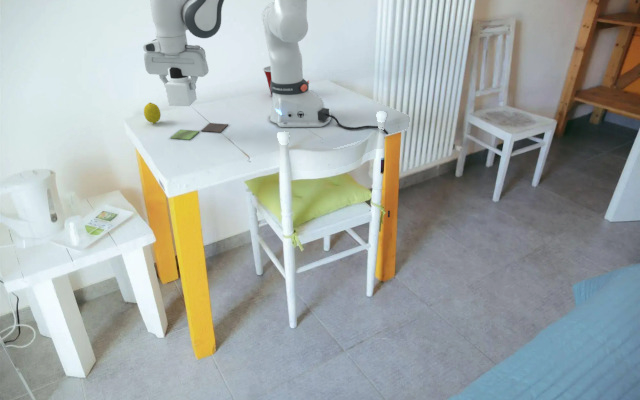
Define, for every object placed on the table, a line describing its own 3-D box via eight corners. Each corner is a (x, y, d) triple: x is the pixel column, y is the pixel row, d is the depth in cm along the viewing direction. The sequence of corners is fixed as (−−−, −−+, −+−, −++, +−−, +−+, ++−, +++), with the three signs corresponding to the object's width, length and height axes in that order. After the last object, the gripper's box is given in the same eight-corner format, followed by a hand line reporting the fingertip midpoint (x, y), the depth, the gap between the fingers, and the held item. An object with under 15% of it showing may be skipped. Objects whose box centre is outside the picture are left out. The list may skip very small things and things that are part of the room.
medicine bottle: (197, 99, 154) (191, 63, 148) (189, 106, 148) (183, 68, 142) (176, 98, 155) (170, 62, 149) (168, 105, 149) (161, 68, 143)
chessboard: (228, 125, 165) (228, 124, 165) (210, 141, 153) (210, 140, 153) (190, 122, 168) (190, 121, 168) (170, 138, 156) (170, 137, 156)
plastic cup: (279, 89, 199) (277, 61, 193) (296, 95, 193) (294, 66, 186) (259, 96, 192) (256, 67, 186) (276, 101, 186) (274, 71, 180)
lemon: (165, 123, 168) (160, 102, 164) (151, 127, 165) (146, 106, 161) (157, 119, 171) (153, 98, 167) (143, 124, 168) (138, 102, 164)
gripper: (208, 43, 143) (214, 87, 150) (148, 41, 147) (157, 84, 154) (199, 47, 138) (206, 93, 145) (137, 45, 142) (147, 89, 149)
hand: (180, 88), depth 149 cm, fingers closed on medicine bottle, 7 cm apart
